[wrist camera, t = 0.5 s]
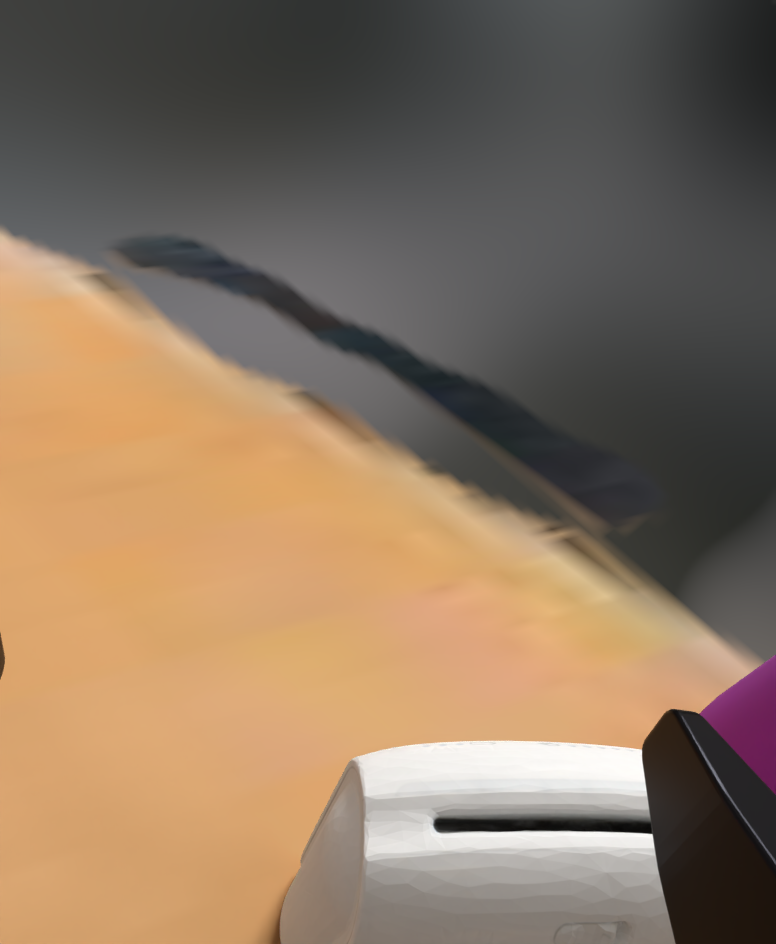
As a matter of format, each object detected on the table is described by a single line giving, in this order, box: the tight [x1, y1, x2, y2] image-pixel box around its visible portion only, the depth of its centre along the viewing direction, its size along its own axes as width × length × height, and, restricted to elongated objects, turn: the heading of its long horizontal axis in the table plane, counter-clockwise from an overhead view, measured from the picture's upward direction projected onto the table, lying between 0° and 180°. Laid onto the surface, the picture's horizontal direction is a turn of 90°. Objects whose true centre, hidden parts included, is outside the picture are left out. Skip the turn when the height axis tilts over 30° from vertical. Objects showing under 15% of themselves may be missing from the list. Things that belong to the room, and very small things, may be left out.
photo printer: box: [280, 741, 675, 944], centre depth 17 cm, size 10×4×12 cm, turn 92°
